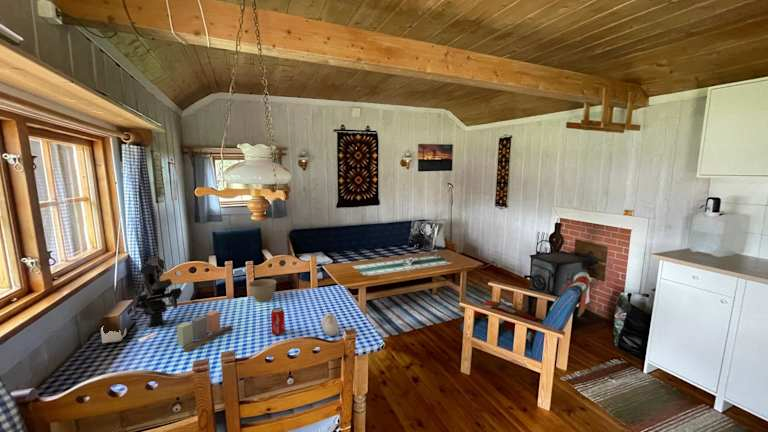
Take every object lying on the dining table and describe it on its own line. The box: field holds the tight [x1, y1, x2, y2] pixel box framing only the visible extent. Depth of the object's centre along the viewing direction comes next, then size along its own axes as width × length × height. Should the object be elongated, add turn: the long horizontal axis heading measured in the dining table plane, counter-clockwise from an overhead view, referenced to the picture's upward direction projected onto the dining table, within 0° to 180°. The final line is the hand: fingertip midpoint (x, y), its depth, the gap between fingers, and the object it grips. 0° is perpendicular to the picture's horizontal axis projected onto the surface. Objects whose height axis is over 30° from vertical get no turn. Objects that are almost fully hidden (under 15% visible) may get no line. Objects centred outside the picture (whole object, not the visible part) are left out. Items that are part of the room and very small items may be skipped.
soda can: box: [270, 307, 286, 336], centre depth 156 cm, size 6×6×12 cm
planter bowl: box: [248, 278, 277, 303], centre depth 199 cm, size 16×16×11 cm
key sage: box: [176, 321, 194, 348], centre depth 144 cm, size 4×4×9 cm
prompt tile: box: [137, 332, 158, 343], centre depth 149 cm, size 12×7×1 cm, turn 65°
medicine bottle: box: [100, 327, 127, 344], centre depth 149 cm, size 7×7×12 cm
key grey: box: [191, 315, 208, 341], centre depth 150 cm, size 4×4×9 cm
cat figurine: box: [320, 312, 340, 337], centre depth 158 cm, size 10×8×15 cm
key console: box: [183, 324, 233, 353], centre depth 150 cm, size 12×23×3 cm, turn 155°
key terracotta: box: [205, 310, 221, 334], centre depth 156 cm, size 4×4×9 cm
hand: (165, 310), depth 147 cm, fingers open, 9 cm apart
